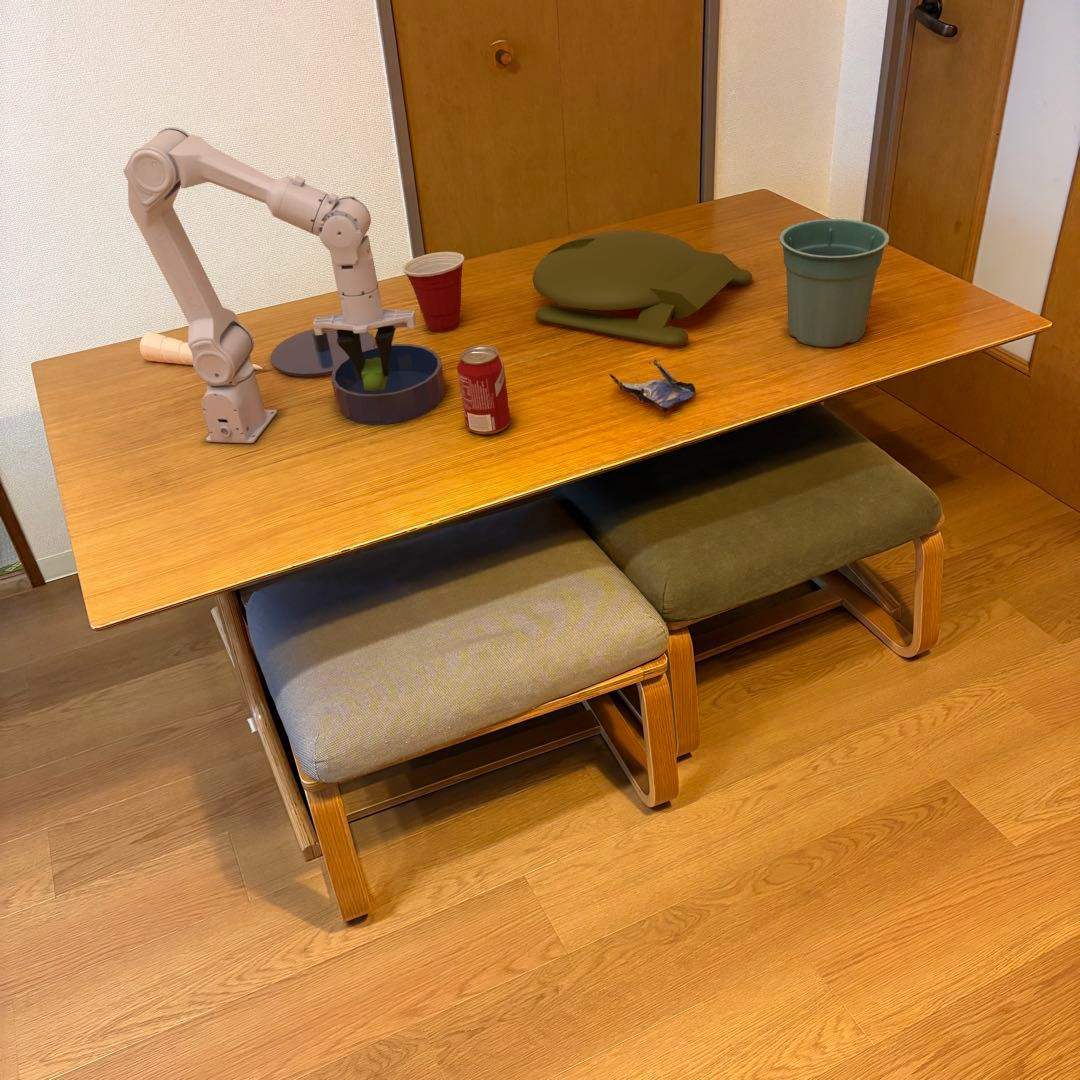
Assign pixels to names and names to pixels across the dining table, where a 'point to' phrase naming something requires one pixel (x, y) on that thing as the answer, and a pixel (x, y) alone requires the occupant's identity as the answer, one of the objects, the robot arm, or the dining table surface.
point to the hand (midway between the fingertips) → (374, 374)
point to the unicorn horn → (168, 350)
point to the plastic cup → (437, 288)
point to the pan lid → (313, 353)
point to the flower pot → (830, 278)
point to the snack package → (659, 390)
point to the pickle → (373, 375)
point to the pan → (391, 386)
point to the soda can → (483, 390)
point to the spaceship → (631, 284)
